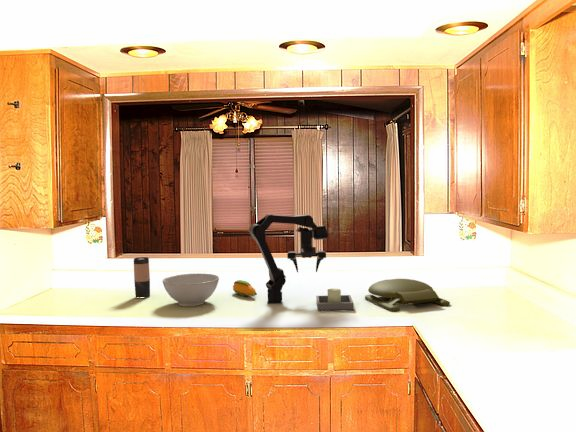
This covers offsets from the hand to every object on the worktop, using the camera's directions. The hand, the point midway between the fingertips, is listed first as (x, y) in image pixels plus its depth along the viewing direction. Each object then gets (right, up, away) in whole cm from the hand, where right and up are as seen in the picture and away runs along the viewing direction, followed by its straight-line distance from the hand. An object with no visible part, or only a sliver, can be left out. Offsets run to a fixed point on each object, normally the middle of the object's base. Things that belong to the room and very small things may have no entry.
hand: (307, 272), depth 282 cm
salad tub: (+12, -13, -17) cm, 25 cm away
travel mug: (-84, -14, +13) cm, 86 cm away
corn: (-31, -13, +11) cm, 35 cm away
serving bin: (+12, -14, -17) cm, 25 cm away
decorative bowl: (-56, -15, -3) cm, 58 cm away
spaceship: (+45, -13, -8) cm, 48 cm away
